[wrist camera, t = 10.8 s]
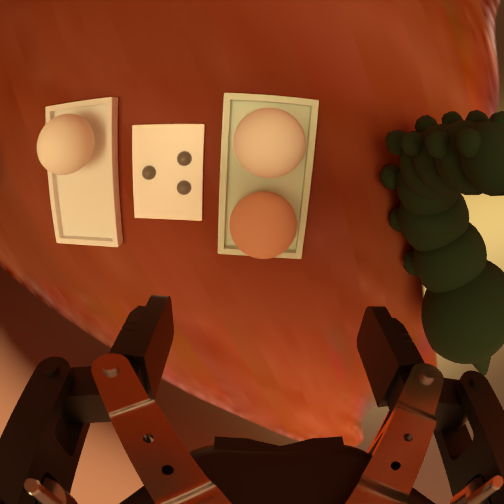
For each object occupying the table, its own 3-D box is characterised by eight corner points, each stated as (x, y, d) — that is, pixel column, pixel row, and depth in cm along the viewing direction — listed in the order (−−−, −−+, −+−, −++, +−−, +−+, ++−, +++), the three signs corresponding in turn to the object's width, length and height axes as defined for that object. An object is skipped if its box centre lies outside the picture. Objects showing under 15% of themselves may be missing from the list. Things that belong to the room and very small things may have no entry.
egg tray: (53, 106, 22) (45, 106, 21) (118, 97, 22) (112, 96, 21) (62, 238, 27) (56, 242, 26) (123, 241, 27) (118, 247, 26)
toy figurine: (333, 148, 25) (420, 350, 32) (448, 172, 8) (484, 479, 14) (418, 105, 23) (482, 312, 30) (582, 91, 6) (569, 415, 12)
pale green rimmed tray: (225, 93, 22) (224, 92, 21) (316, 101, 22) (318, 100, 21) (219, 247, 28) (217, 253, 26) (299, 253, 28) (301, 259, 27)
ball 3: (233, 182, 25) (227, 199, 20) (296, 187, 25) (305, 204, 20) (230, 240, 27) (225, 268, 22) (290, 244, 27) (296, 273, 22)
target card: (134, 125, 23) (129, 125, 22) (205, 123, 23) (202, 124, 22) (136, 215, 27) (132, 220, 26) (202, 218, 27) (200, 223, 26)
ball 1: (58, 115, 22) (24, 120, 17) (104, 109, 22) (74, 111, 17) (60, 169, 24) (27, 182, 20) (105, 167, 24) (76, 180, 20)
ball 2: (237, 106, 22) (232, 104, 18) (303, 111, 22) (314, 110, 18) (233, 169, 24) (228, 182, 20) (297, 174, 24) (307, 188, 20)
